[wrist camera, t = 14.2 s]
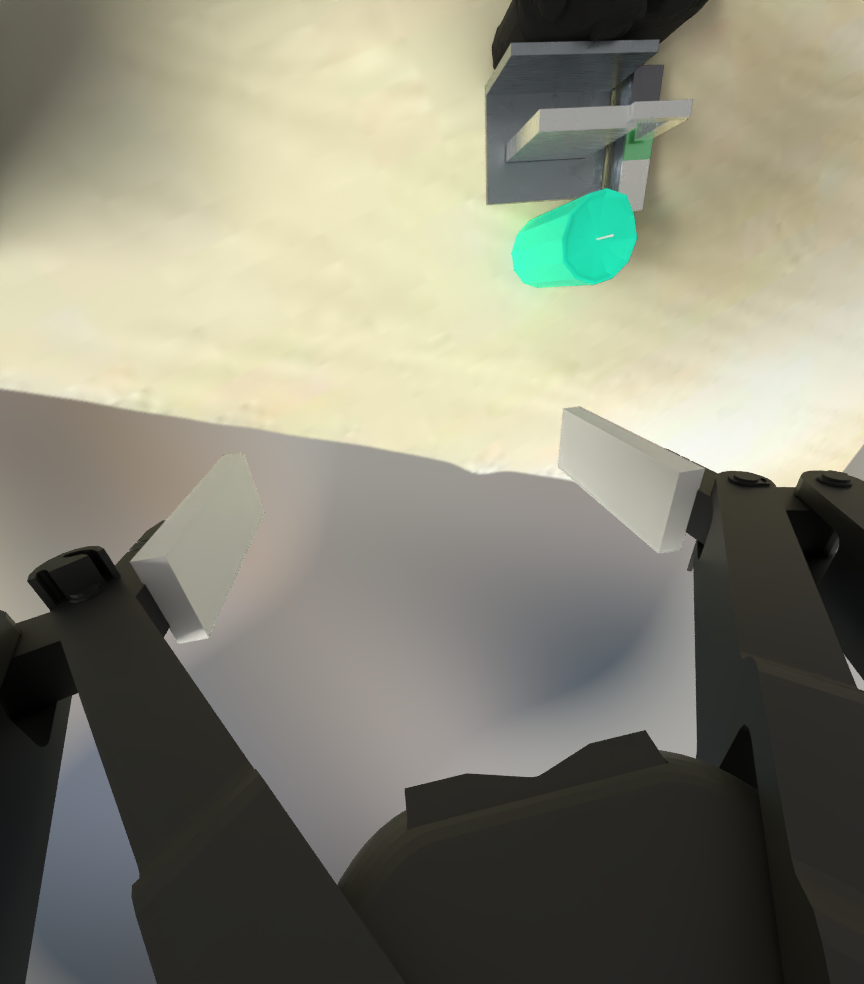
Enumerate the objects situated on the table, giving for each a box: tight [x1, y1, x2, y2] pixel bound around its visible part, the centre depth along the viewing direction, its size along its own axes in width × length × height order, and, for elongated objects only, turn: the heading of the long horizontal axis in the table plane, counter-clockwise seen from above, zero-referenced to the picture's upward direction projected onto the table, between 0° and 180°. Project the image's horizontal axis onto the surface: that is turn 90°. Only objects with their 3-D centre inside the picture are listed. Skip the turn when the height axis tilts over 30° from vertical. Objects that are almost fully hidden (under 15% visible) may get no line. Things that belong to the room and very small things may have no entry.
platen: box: [506, 99, 693, 162], centre depth 30 cm, size 12×1×7 cm, turn 95°
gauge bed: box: [485, 40, 664, 213], centre depth 31 cm, size 14×9×6 cm
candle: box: [512, 188, 637, 288], centre depth 31 cm, size 6×6×12 cm
